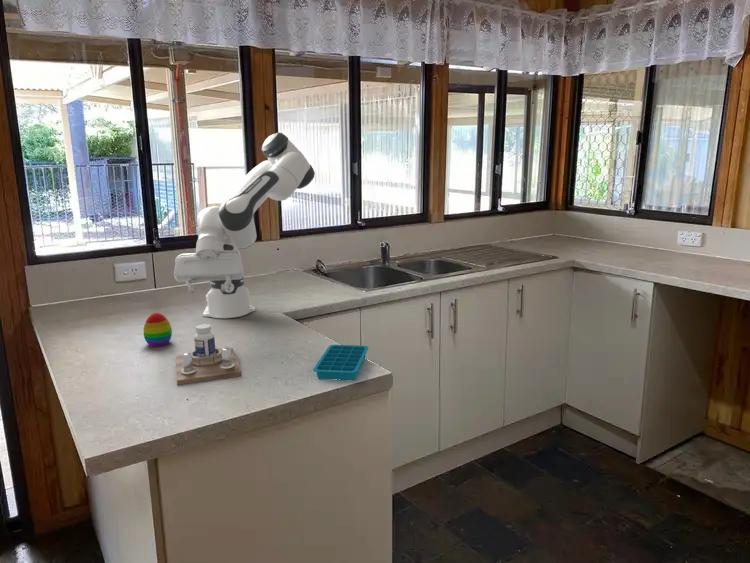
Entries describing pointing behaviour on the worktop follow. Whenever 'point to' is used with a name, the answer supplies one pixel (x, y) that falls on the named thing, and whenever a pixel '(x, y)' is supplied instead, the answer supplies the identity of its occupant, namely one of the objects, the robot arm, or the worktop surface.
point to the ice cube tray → (341, 362)
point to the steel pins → (190, 370)
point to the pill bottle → (204, 341)
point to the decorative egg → (157, 330)
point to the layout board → (206, 368)
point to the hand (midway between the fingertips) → (207, 291)
